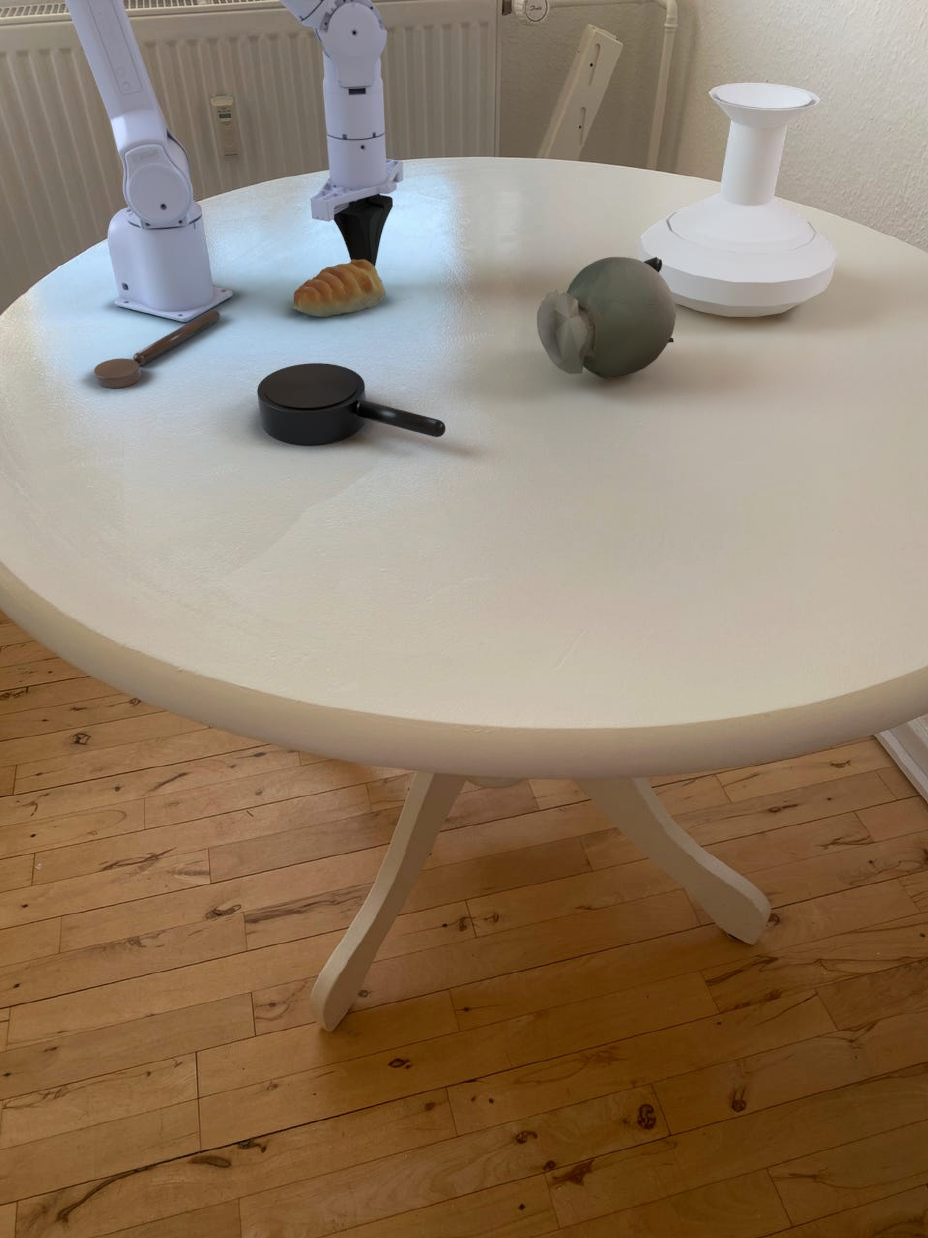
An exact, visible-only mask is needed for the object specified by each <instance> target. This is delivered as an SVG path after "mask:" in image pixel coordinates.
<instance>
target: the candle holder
mask: <svg viewBox="0 0 928 1238" xmlns="http://www.w3.org/2000/svg"><path fill="white" fill-rule="evenodd" d="M708 94H709V96H710V98H711V99H712V100H713V101H714V102H715V103H716V104H717V106H718V107H719V108H720V109H721V110H722V111H723V112H724V114H726V116H727V117H729V119H730V123H729V129H728V137H727V141H726V142H727V143H726V147H725V155H724V161H723V167H722V168H723V169H722V173H721V180H720V186H719V192H717V193H715V194H712V195H710V196H707V197H705V198H703V199H700V200H699V201H696V202H694V203H691V204H688V205H686V206H684V207H682V208H680V209H676V210H674V211H672V212H670V214H668V215H667V216H664V218H662V219H660V220H658V221H656V222H655V223H653V224H652V225H651V226H649V228H647V229H646V230H645V231H644V232H643V233H642V234H641V236H639V243H638V254H637V260H640V261H642V262H644V261H646V260H649V259H652V258H655V257H657V258H658V259H661V260H662V268H661V270H660V272H659V274H660V275H661V276H662V277H663V279H664V280H665V281H666V283H667V284H668V286H669V288H670V290H671V293H672V295H673V299H674V302H675V304H678V305H681V306H683V307H686V308H689V309H691V310H695V311H697V312H701V313H706V314H712V315H717V316H720V317H721V316H722V317H726V318H727V317H728V318H729V317H730V318H731V317H735V318H737V317H738V318H741V317H742V318H746V317H747V318H758V317H765V316H771V315H778V314H782V313H784V312H786V311H789V310H790V309H792V308H795V307H796V306H798V305H801V304H802V303H804V302H806V301H807V300H810V299H812V298H813V297H815V296H817V295H819V294H821V293H823V292H825V291H826V290H827V287H828V286H829V284H830V282H831V281H832V279H833V277H834V271H835V268H836V263H837V259H838V254H839V253H838V252H837V251H836V249H835V248H834V247H833V245H832V243H830V241H829V240H828V239H827V238H826V237H825V236H824V235H823V234H822V233H821V232H820V231H819V230H818V229H817V228H816V227H815V226H814V225H813V224H812V222H810V221H808V220H806V219H805V218H804V217H803V216H802V215H800V214H799V213H797V212H796V211H794V210H793V209H792V208H790V207H789V206H787V205H786V204H784V203H783V202H781V201H780V200H778V198H776V197H775V193H776V189H777V188H776V187H777V183H778V177H779V172H780V168H781V167H780V166H781V162H782V156H783V151H784V146H785V140H786V135H787V130H788V124H790V123H791V122H793V121H794V120H795V119H797V118H799V117H800V116H801V115H803V114H804V113H806V112H807V111H809V110H811V109H812V108H814V107H815V106H816V105H817V104H818V103H819V102H820V101H821V98H820V97H819V96H818V95H817V94H816V93H814V92H811V91H809V90H808V89H804V88H801V87H796V86H790V85H786V84H779V83H769V82H736V83H726V84H722V85H719V86H718V85H717V86H715V87H713V88H711V90H710V91H708Z"/></svg>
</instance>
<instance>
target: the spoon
mask: <svg viewBox="0 0 928 1238" xmlns="http://www.w3.org/2000/svg"><path fill="white" fill-rule="evenodd" d="M220 318H221V313H220V312H219V311H218V310H217V309H212V308H211V309H209V310H207V311H205V312H204V313H202V314H200V315H198V316H197V317H195V318H193V319H192V320H190V321H188V322H186V323H185V324H184V325H182V326H180V327H179V328H177V329H176V330H174V331H172V332H170V333H169V334H166V335H165V336H163V337H161V338H160V339H158V340H156V341H155V342H153V343H151V344H149V345H147V346H146V347H144V348H143V349H140V350H139V351H137V352H135V353H134V355H133V356H132V357H133V358H132V359H131V358H124V357H123V358H122V357H121V358H112V359H108V360H104V361H102V362H100V363H99V364H97V365H96V366H95V367H94V369H93V373H94V377H95V382H96V383H97V384H98V385H99V386H101V387H103V388H109V389H121V388H125V387H129V386H132V385H134V384H136V383H138V382H139V381H140V379H141V378H142V371H141V366H144V365H146V364H147V363H149V362H151V361H153V360H154V359H156V358H158V357H160V356H161V355H162V354H165V353H166V352H168V351H170V350H171V349H172V348H175V347H176V346H178V345H179V344H181V343H183V342H184V341H186V340H188V339H190V338H191V337H193V336H194V335H196V334H198V333H200V332H201V331H203V330H205V329H206V328H208V327H209V326H211V325H213V324H215V323H216V322H218V321H219V320H220Z"/></svg>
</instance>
